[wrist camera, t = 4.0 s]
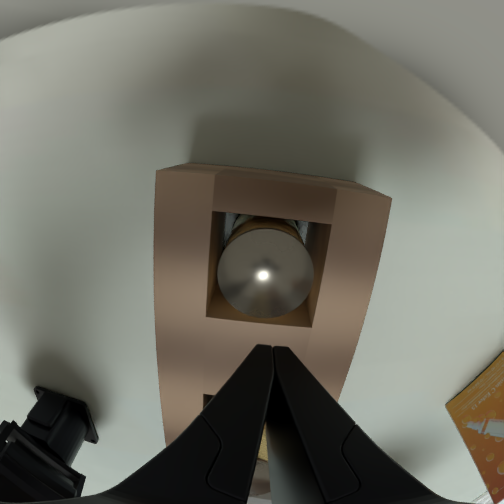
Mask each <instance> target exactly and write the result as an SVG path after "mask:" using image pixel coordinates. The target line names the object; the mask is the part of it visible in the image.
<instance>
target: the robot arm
mask: <svg viewBox="0 0 504 504" xmlns="http://www.w3.org/2000/svg"><path fill="white" fill-rule="evenodd" d="M34 392H35V395H36V397H37V400H38V401H37V402H36V404H35V405H34V407H33V408H32V409H31V411H30V412H29V413H28V415H27V419H26V420H25V422H24V423H23V425H22V426H21V427H19V426H18V425H17V423H16V422H15V421H14V420H13V421H12V422H11V423H10V422H7V421H5V420H4V421H3V422H2V423H1V425H0V504H247V501H248V497H249V493H250V489H251V485H252V480H253V476H254V472H255V467H256V463H257V458H258V454H259V449H260V445H261V440H262V435H263V431H264V426H265V429H266V442H267V454H268V466H269V477H270V489H271V501H272V504H476V503H465V502H456V501H452V500H448V499H446V498H443V497H441V496H439V495H437V494H436V493H434V492H433V491H431V490H430V489H428V488H427V487H426V486H425V485H423V484H422V483H421V482H420V481H418V480H417V479H416V478H415V477H413V476H412V475H411V474H410V473H409V472H407V471H406V470H405V469H404V468H402V467H401V466H400V465H399V464H398V463H396V462H395V461H394V460H393V459H392V458H391V457H389V456H388V455H387V454H386V453H385V452H384V451H383V450H382V449H381V448H379V447H378V446H377V445H376V444H375V443H374V442H373V441H372V439H371V438H370V437H369V436H368V435H367V434H366V433H365V432H364V431H363V430H362V429H361V428H360V427H359V426H358V425H357V424H356V423H355V421H354V420H353V419H352V418H351V417H350V416H349V415H348V414H347V413H346V411H345V410H344V409H343V408H342V407H341V406H340V405H339V404H338V402H337V401H336V400H335V399H334V398H333V397H332V396H331V395H330V393H329V392H328V391H327V390H326V389H325V388H324V387H323V386H322V384H321V383H320V382H319V381H318V380H317V379H316V378H315V376H314V375H313V374H312V373H311V372H310V371H309V370H308V368H307V367H306V366H305V365H304V364H303V363H302V362H301V360H300V359H299V358H298V357H297V356H296V355H295V353H294V352H293V351H292V350H291V349H290V348H289V347H287V346H273V347H272V346H271V345H265V344H256V345H255V347H254V348H253V349H252V350H251V352H250V353H249V354H248V355H247V357H246V358H245V359H244V360H243V362H242V363H241V364H240V365H239V367H238V368H237V369H236V370H235V372H234V373H233V374H232V375H231V376H230V378H229V379H228V380H227V381H226V382H225V384H224V385H223V386H222V387H221V388H220V390H219V391H218V392H217V393H216V394H215V396H214V397H213V398H212V399H211V400H210V402H209V403H208V404H207V405H206V406H205V407H204V409H203V410H202V411H201V412H200V414H199V415H197V417H196V418H195V419H194V420H193V421H192V422H191V424H190V425H189V426H188V427H187V428H186V429H185V430H184V431H183V432H182V433H181V434H180V435H179V436H178V437H177V438H176V439H175V440H174V441H173V442H172V443H170V444H169V445H168V446H167V447H166V448H165V449H163V450H162V451H161V452H160V453H159V454H157V455H156V456H155V457H154V458H152V459H151V460H150V461H148V462H147V463H146V464H145V465H143V466H142V467H141V468H139V469H138V470H137V471H136V472H134V473H133V474H132V475H130V476H129V477H128V478H126V479H125V480H124V481H122V482H121V483H119V484H118V485H116V486H114V487H113V488H111V489H109V490H106V491H104V492H102V493H98V494H95V495H90V496H84V497H81V493H82V490H83V486H84V482H85V479H86V476H84V475H83V474H80V473H78V472H77V471H75V470H74V469H73V468H71V465H72V463H73V461H74V459H75V457H76V455H77V453H78V451H79V449H80V447H81V445H82V443H83V441H84V440H85V441H88V442H91V443H94V444H97V442H98V438H97V435H96V432H95V429H94V426H93V423H92V420H91V417H90V414H89V411H88V408H87V405H86V404H85V403H84V402H82V401H79V400H76V399H73V398H70V397H66V396H64V395H61V394H58V393H55V392H52V391H49V390H46V389H44V388H41V387H38V386H36V387H35V388H34ZM355 424H356V425H355ZM6 440H7V441H8V443H7V442H6Z"/></svg>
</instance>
